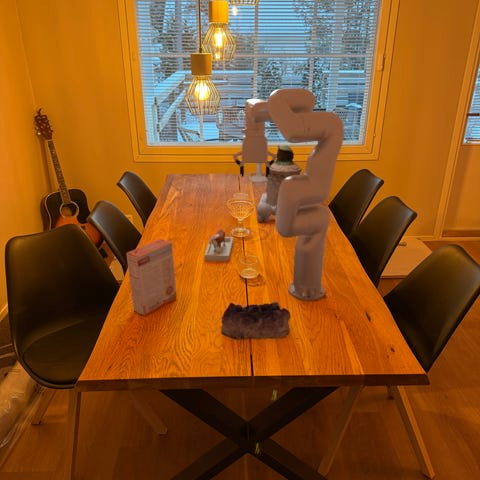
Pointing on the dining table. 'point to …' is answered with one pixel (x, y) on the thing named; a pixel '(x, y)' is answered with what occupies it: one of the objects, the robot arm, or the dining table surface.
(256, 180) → the candlestick
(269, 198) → the cookie jar
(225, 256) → the tray
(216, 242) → the bull figurine
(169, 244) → the cracker box
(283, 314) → the geode
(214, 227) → the dining table surface
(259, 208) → the chubby cartoon animal
